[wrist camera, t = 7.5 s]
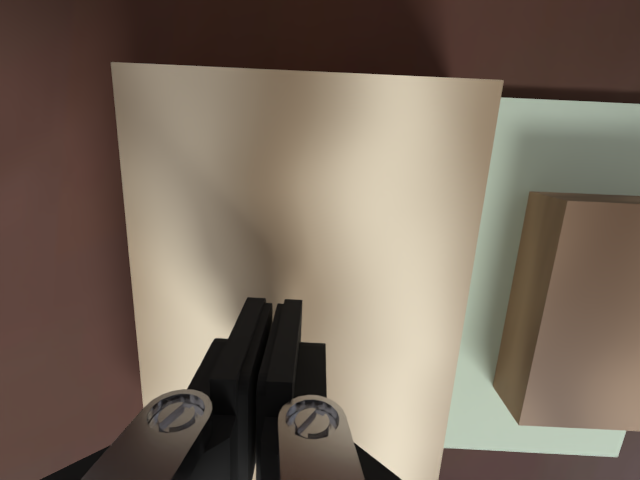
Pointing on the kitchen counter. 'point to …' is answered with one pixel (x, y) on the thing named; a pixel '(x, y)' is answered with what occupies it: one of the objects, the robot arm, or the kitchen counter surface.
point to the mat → (503, 243)
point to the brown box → (574, 315)
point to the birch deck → (310, 228)
